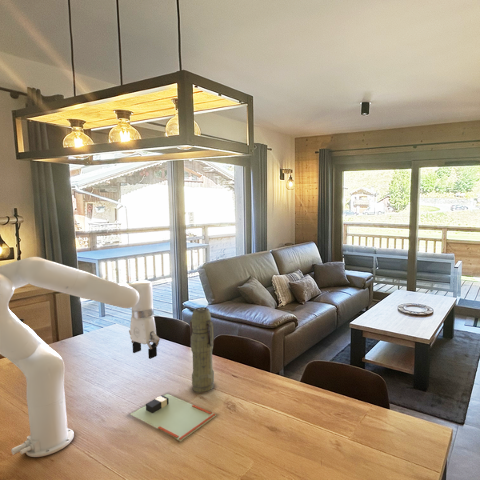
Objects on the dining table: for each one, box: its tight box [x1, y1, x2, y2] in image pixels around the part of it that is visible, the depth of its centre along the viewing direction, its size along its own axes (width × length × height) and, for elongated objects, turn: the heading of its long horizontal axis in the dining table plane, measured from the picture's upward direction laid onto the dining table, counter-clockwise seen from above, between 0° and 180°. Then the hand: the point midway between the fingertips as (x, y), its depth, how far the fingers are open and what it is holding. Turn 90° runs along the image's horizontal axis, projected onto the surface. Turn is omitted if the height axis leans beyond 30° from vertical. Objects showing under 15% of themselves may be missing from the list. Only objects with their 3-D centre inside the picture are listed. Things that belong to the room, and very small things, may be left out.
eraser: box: [145, 394, 169, 413], centre depth 133 cm, size 7×4×3 cm, turn 151°
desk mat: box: [130, 393, 217, 442], centre depth 129 cm, size 16×28×1 cm, turn 61°
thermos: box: [189, 306, 215, 394], centre depth 146 cm, size 9×12×35 cm
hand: (144, 354), depth 136 cm, fingers open, 9 cm apart
